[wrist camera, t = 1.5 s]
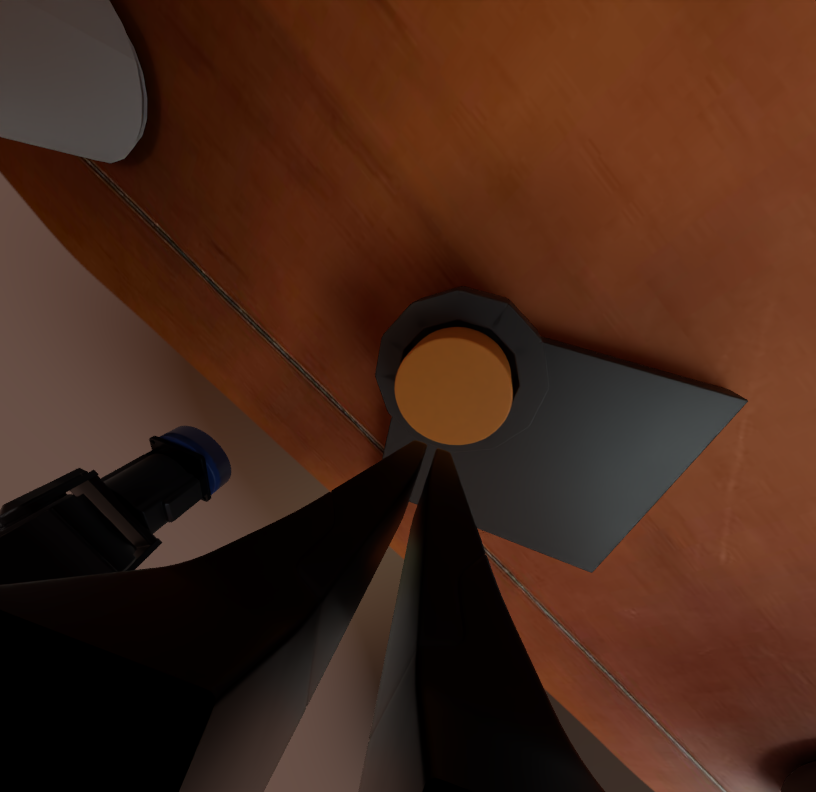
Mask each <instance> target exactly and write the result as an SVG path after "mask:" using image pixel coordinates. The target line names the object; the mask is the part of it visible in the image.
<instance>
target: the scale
mask: <svg viewBox="0 0 816 792" xmlns="http://www.w3.org/2000/svg"><path fill="white" fill-rule="evenodd" d="M448 327H466V328H471V329H474V330H477V331H480V332H482V333H483V334H485V335H487V336H488V337H490V338H491V339H493V340H494V341H495V342H496V343H497V344H498V345H499V346H500V348H501V349H502V350H503V352H504V353H505V355H506V357H507V360H508V362H509V365H510V369H511V379H512V388H513V400H512V405H511V409H510V412H509V414H508V416H507V418H506V420H505V421H504V423H503V424H502V425H501V426H500V427H499V428H498V429H497V430H496V431H495V432H494V433H493V434H491V435H490V436H488V437H486V438H485V439H483V440H480V441H478V442H475V443H471V444H465V445H448V444H443V443H439V442H436V441H433V440H431V439H428V438H426V437H425V436H423V435H421V434H420V433H418V432H417V431H416V430H415V429H414V428H412V427H411V426H410V425H409V423H408V422H407V421H406V420H405V418H404V417H403V415H402V414H401V412H400V410H399V407H398V405H397V402H396V398H395V391H394V388H395V377H396V374H397V370H398V368H399V366H400V364H401V362H402V361H403V359H404V358H405V357H406V356H407V354H408V353H409V352H410V351H411V350H412V349H413V348H414V347H415V346H416V345H417V344H418V343H419V342H420V341H421V340H422V339H423V338H424V337H426V336H427V335H429V334H430V333H432V332H434V331H437V330H440V329H443V328H448ZM375 375H376V376H375V377H376V380H377V383H378V386H379V388H380V391H381V394H382V397H383V400H384V403H385V406H386V408H387V411H388V413H389V414H390V415H391V416H392V418H391V422H390V427H389V431H388V436H387V440H386V444H385V449H384V453H383V458H382V460H383V459H384V458H386V457H387V456H389V455H391V454H392V453H394V452H396V451H397V450H399V449H401V448H402V447H404V446H405V445H407V444H409V443H410V442H412V441H414V440H417V441H420V442H423V443H425V444H427V450H426V453H425V456H424V459H423V463H422V466H421V469H420V472H419V475H418V477H417V480H416V483H415V486H414V488H413V491H412V494H411V497H410V500H409V502H412V503H414V504H417V505H418V502H419V499H420V496H421V493H422V490H423V487H424V484H425V481H426V478H427V475H428V472H429V469H430V466H431V463H432V460H433V457H434V454H435V451H436V449H438V448H439V449H442V450H445V451H448V452H450V453H451V456H452V458H453V461H454V464H455V467H456V470H457V473H458V475H459V478H460V481H461V484H462V487H463V490H464V493H465V495H466V498H467V501H468V504H469V507H470V510H471V513H472V515H473V518H474V521H475V524H476V527H477V528H478V529H481V530H484V531H486V532H489V533H491V534H494V535H496V536H499V537H501V538H504V539H507V540H509V541H512V542H514V543H517V544H519V545H522V546H524V547H527V548H530V549H532V550H535V551H537V552H540V553H542V554H545V555H547V556H550V557H553V558H555V559H558V560H560V561H563V562H565V563H568V564H571V565H573V566H576V567H578V568H581V569H583V570H586V571H588V572H591V573H592V572H593V571H594V570H595V569H596V568H597V567H598V566H599V565H600V563H601V562H602V561H603V560H604V559H605V558H606V557H607V556H608V555H609V554H610V552H611V551H612V550H613V549H614V548H615V547H616V546H617V545H618V544H619V543H620V541H621V540H622V539H623V538H624V537H625V536H626V535H627V534H628V533H629V532H630V530H631V529H632V528H633V527H634V526H635V525H636V524H637V523H638V522H639V521H640V519H641V518H642V517H643V516H644V515H645V514H646V513H647V512H648V511H649V510H650V508H651V507H652V506H653V505H654V504H655V503H656V502H657V501H658V500H659V499H660V498H661V496H662V495H663V494H664V493H665V492H666V491H667V490H668V489H669V488H670V487H671V485H672V484H673V483H674V482H675V481H676V480H677V479H678V478H679V477H680V476H681V474H682V473H683V472H684V471H685V470H686V469H687V468H688V467H689V466H690V465H691V463H692V462H693V461H694V460H695V459H696V458H697V457H698V456H699V455H700V454H701V452H702V451H703V450H704V449H705V448H706V447H707V446H708V445H709V444H710V443H711V441H712V440H713V439H714V438H715V437H716V436H717V435H718V434H719V433H720V432H721V430H722V429H723V428H724V427H725V426H726V425H727V424H728V423H729V422H730V421H731V419H732V418H733V417H734V416H735V415H736V414H737V413H738V412H739V411H740V410H741V408H742V407H743V406H744V405H745V404H746V403H747V402H748V400H747V399H745V398H743V397H741V396H740V395H738V394H736V393H734V392H733V391H731V390H729V389H725V388H722V387H718V386H714V385H711V384H707V383H704V382H700V381H697V380H693V379H690V378H686V377H683V376H679V375H676V374H672V373H669V372H665V371H661V370H658V369H654V368H651V367H647V366H644V365H640V364H637V363H633V362H630V361H626V360H623V359H619V358H616V357H612V356H608V355H605V354H601V353H598V352H594V351H591V350H587V349H584V348H580V347H577V346H573V345H570V344H566V343H563V342H559V341H555V340H552V339H548V338H545V337H541V336H540V334H539V333H538V331H537V330H536V328H535V327H534V326H533V325H532V324H531V323H530V322H529V321H528V320H527V319H526V317H525V316H524V315H523V314H522V313H521V312H520V311H519V310H518V309H517V307H516V306H515V305H514V304H513V303H512V302H511V301H510V300H509V299H507V298H506V297H502V296H498V295H495V294H491V293H487V292H484V291H480V290H476V289H472V288H469V287H465V286H464V287H463V286H461V287H457V288H454V289H451V290H447V291H444V292H440V293H437V294H434V295H430V296H427V297H424V298H421V299H419V300H417V301H415V302H413V303H412V304H410V305H409V306H408V307H407V309H406V310H405V311H404V312H403V313H402V314H401V315H400V316H399V318H398V319H397V320H396V321H395V322H394V323H393V324H392V325H391V326H390V328H389V329H388V330H387V331H386V332H385V333H384V334H383V336H382V339H381V345H380V350H379V356H378V362H377V367H376V373H375Z"/></svg>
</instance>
